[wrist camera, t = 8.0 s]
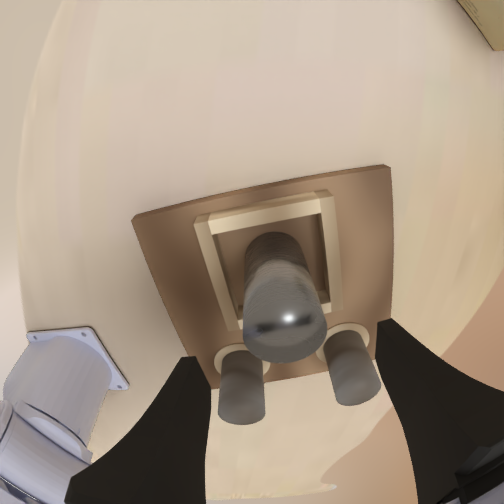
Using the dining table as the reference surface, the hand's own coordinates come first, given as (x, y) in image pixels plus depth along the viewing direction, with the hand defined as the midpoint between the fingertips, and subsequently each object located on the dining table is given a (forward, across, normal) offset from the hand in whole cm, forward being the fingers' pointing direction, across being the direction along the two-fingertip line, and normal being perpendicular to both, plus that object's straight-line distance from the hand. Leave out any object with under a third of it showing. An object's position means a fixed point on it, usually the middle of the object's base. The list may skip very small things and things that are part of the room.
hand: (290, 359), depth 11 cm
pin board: (+9, 0, +4) cm, 10 cm away
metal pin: (+8, 0, 0) cm, 8 cm away
